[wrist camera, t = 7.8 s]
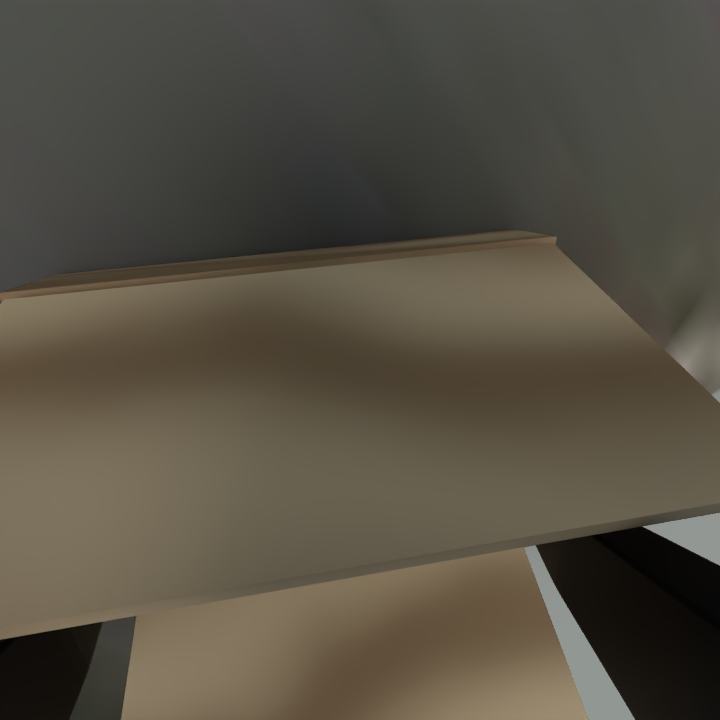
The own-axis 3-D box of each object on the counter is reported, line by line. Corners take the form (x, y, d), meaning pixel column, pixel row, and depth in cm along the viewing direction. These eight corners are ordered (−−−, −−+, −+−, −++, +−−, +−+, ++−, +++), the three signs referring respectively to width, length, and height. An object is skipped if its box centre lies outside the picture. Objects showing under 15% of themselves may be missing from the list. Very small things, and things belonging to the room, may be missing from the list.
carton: (496, 498, 20) (525, 543, 17) (158, 553, 18) (134, 611, 16) (513, 229, 15) (556, 236, 12) (56, 274, 14) (-3, 292, 11)
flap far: (523, 545, 17) (519, 548, 17) (136, 614, 15) (142, 615, 16) (632, 837, 12) (623, 832, 12) (82, 977, 10) (92, 966, 11)
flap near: (790, 500, 7) (807, 487, 6) (-277, 688, 5) (-314, 683, 5) (549, 255, 12) (553, 243, 12) (13, 311, 11) (3, 299, 11)
